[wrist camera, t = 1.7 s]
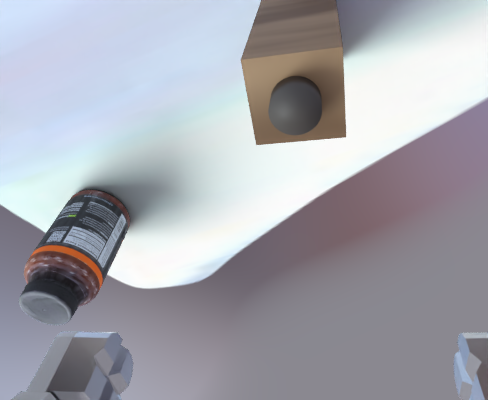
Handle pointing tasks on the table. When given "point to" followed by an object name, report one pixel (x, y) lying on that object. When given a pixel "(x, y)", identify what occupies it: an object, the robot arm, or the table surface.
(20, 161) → the table surface
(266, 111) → the walnut pepper mill
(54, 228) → the supplement bottle
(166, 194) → the table surface
